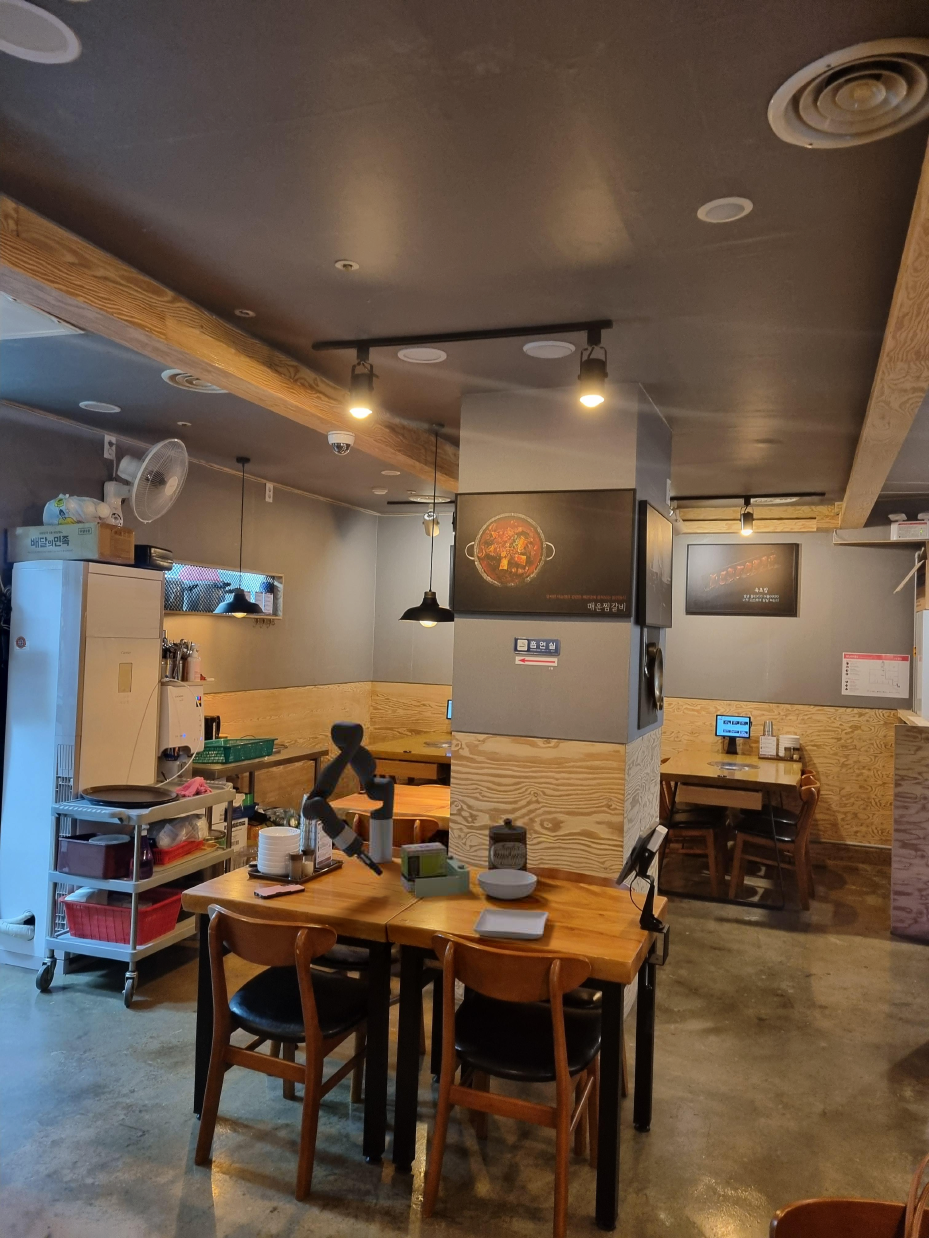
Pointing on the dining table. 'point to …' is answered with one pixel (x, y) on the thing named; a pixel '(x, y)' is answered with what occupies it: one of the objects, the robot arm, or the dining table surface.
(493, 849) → the wooden container
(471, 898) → the dining table surface
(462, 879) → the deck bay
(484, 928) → the salad plate
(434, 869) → the tea box
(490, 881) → the serving bowl
